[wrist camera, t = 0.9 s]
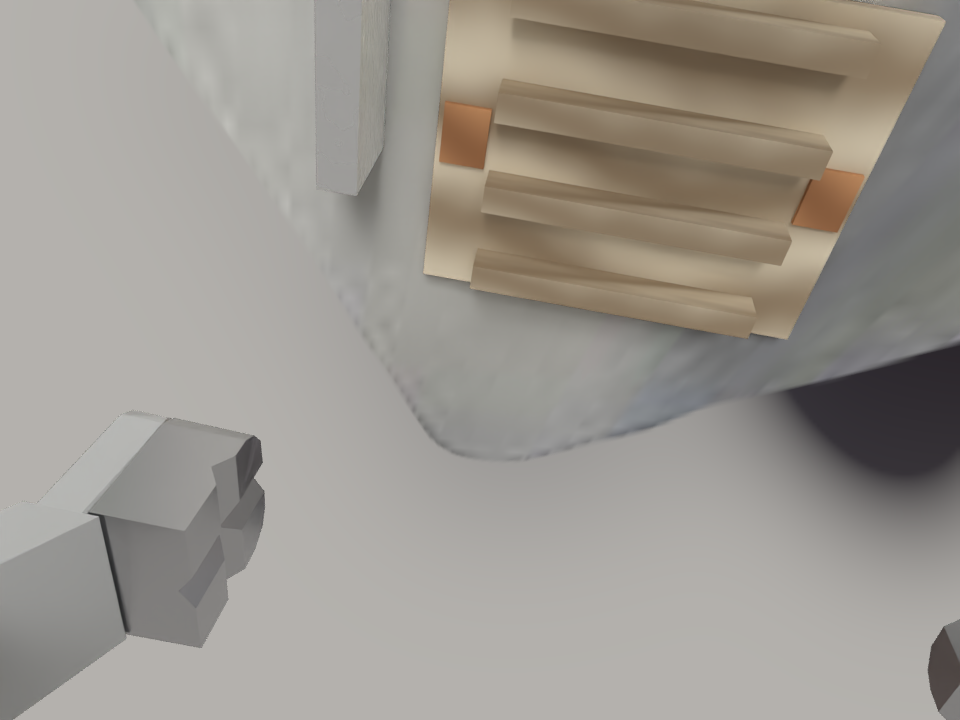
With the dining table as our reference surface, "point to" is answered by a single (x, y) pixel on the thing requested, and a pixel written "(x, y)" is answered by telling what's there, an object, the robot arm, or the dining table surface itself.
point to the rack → (662, 150)
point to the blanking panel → (349, 90)
